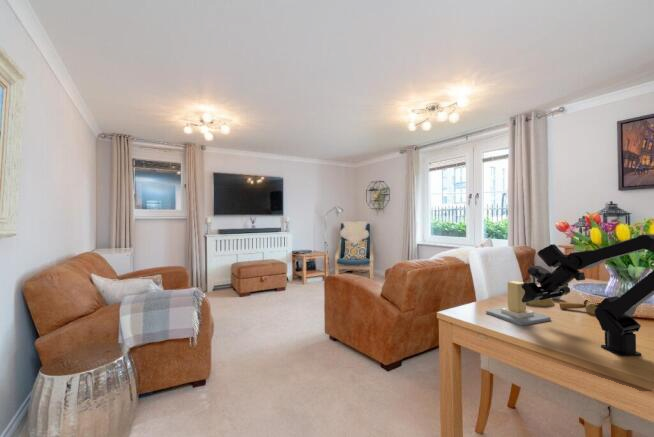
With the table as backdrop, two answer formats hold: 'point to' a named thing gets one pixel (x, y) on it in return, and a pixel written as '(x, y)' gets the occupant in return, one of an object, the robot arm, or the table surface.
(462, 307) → the table surface
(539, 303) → the pastry
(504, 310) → the baseplate
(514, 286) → the pillar
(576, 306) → the kendama
